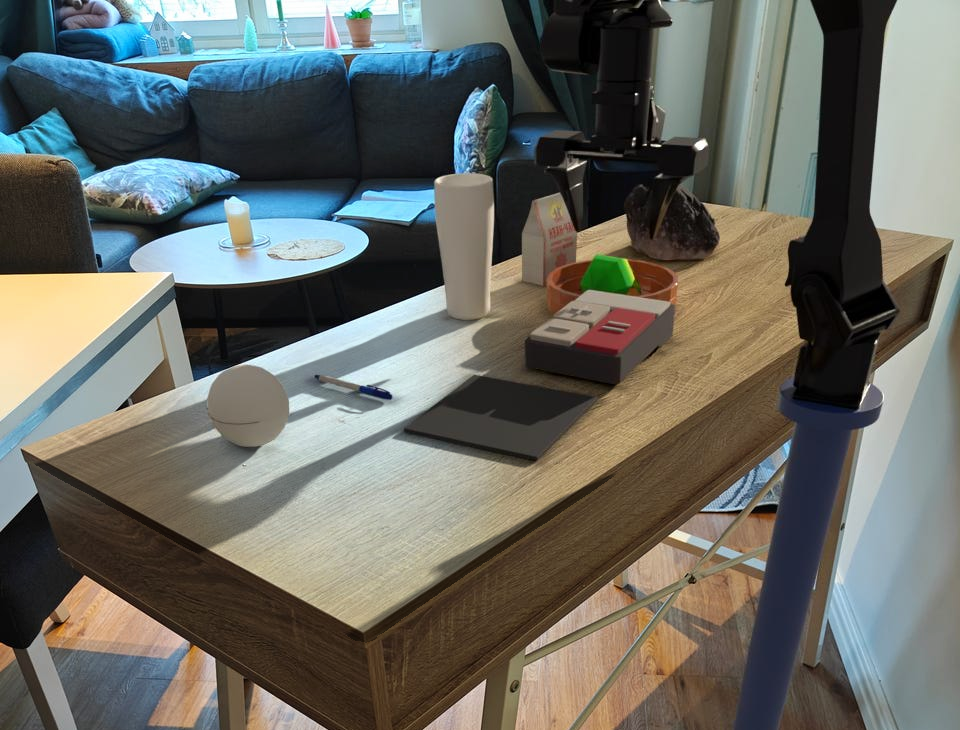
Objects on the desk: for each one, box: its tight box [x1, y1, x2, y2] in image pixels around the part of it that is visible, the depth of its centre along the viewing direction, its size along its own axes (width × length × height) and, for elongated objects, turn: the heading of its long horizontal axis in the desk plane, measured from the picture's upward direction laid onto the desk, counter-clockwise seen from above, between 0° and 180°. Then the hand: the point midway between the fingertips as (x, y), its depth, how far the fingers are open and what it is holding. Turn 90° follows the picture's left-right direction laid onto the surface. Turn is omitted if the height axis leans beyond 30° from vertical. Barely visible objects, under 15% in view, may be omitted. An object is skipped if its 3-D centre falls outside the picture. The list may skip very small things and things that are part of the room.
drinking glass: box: [433, 172, 495, 321], centre depth 105 cm, size 7×7×15 cm
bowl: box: [545, 258, 679, 315], centre depth 109 cm, size 16×16×4 cm
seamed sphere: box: [193, 363, 290, 448], centre depth 81 cm, size 10×7×7 cm
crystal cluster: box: [623, 183, 721, 261], centre depth 125 cm, size 13×14×10 cm
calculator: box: [524, 290, 676, 385], centre depth 96 cm, size 11×4×15 cm
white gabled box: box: [521, 192, 578, 287], centre depth 117 cm, size 4×7×10 cm, turn 136°
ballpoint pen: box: [313, 374, 393, 401], centre depth 92 cm, size 10×1×1 cm, turn 57°
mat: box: [403, 374, 598, 462], centre depth 87 cm, size 14×14×1 cm
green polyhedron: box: [580, 253, 642, 296], centre depth 108 cm, size 7×6×9 cm
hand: (615, 234), depth 104 cm, fingers open, 9 cm apart
